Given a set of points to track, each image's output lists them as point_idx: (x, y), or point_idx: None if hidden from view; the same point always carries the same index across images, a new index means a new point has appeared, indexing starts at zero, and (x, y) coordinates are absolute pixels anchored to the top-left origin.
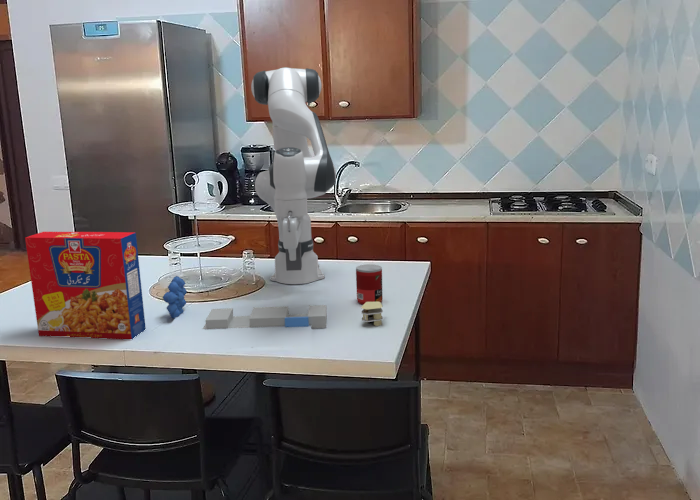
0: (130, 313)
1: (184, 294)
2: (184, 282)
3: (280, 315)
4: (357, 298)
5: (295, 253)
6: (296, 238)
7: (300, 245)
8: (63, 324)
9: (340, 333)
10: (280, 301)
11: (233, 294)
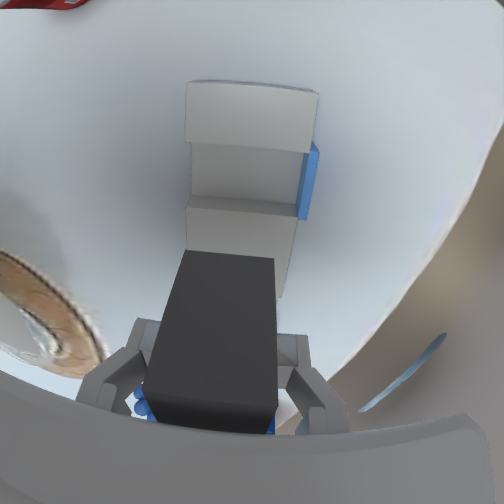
0: (270, 429)
1: None
2: (142, 405)
3: (275, 230)
4: (75, 4)
5: (318, 374)
6: (491, 468)
7: (197, 381)
8: None
9: (367, 60)
10: (65, 214)
11: (48, 298)
